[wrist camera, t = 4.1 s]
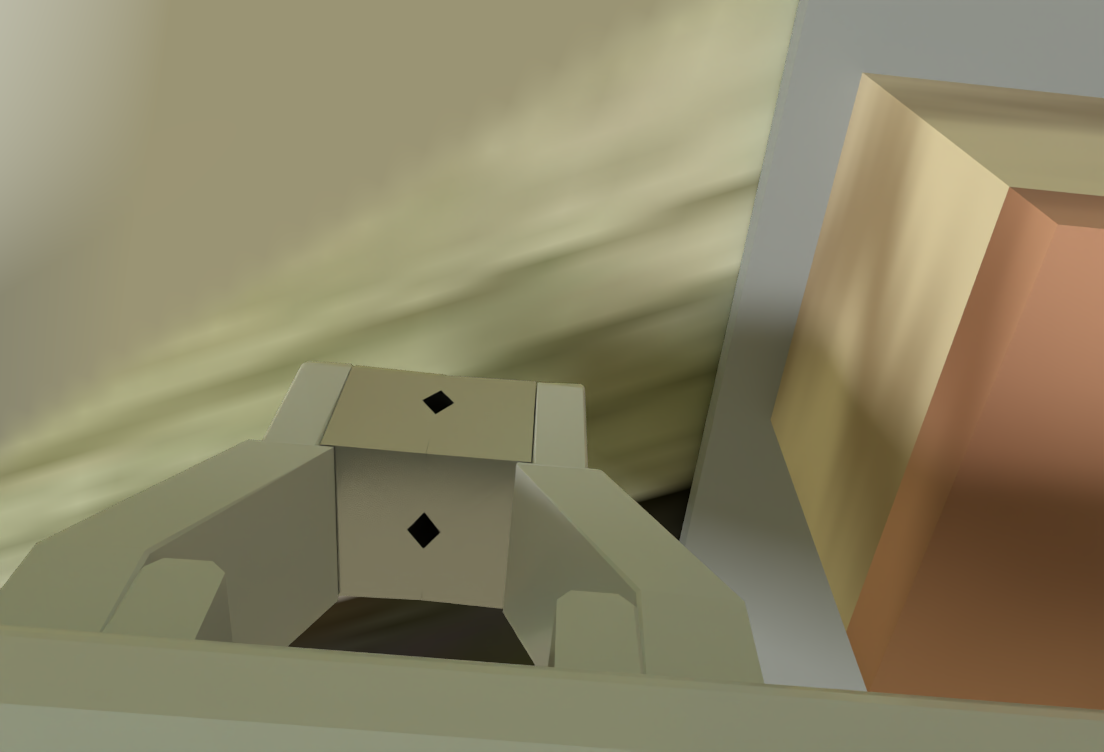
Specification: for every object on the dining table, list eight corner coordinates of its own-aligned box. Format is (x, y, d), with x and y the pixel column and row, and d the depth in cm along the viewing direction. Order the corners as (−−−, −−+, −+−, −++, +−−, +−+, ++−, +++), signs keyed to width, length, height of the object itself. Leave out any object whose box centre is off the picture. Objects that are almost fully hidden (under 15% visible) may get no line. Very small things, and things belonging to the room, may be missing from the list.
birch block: (862, 72, 13) (1057, 225, 8) (1264, 114, 13) (1710, 289, 8) (770, 420, 16) (868, 694, 11) (1099, 449, 16) (1346, 731, 11)
